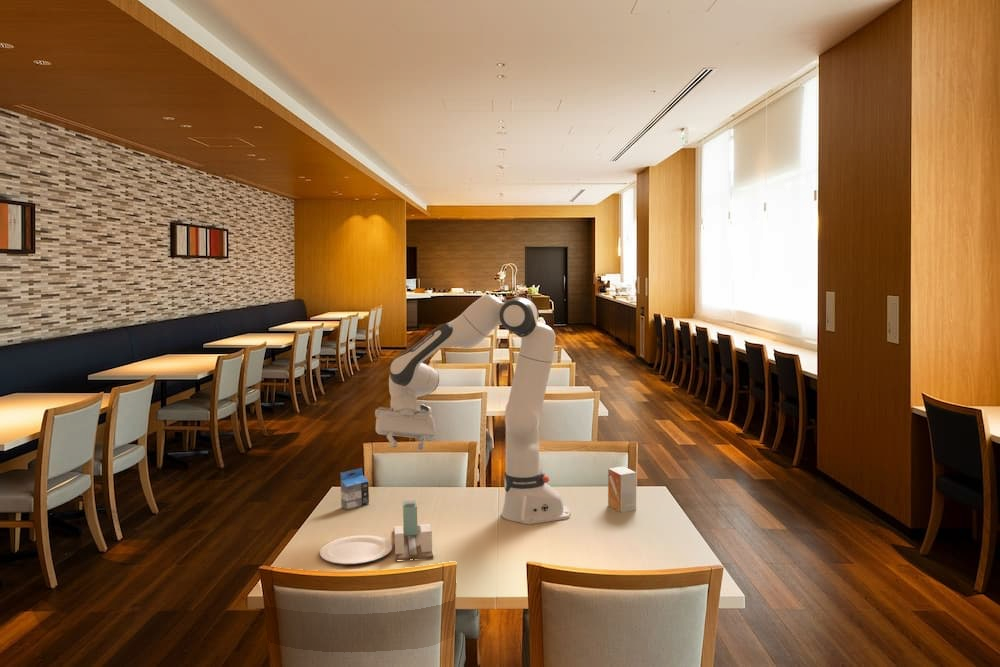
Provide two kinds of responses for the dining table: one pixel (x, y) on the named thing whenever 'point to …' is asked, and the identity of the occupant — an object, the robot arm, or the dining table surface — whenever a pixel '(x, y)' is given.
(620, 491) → the small box
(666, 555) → the dining table surface
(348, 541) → the plate
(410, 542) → the rail board
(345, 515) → the dining table surface
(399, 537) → the mounted modules
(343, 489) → the label tape cartridge
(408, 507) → the block
